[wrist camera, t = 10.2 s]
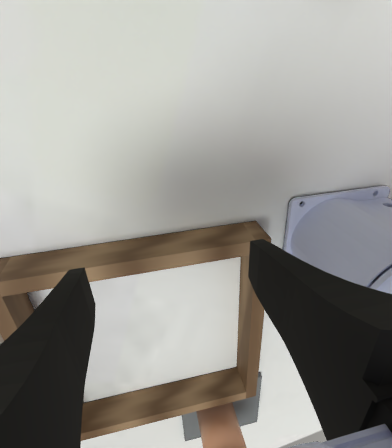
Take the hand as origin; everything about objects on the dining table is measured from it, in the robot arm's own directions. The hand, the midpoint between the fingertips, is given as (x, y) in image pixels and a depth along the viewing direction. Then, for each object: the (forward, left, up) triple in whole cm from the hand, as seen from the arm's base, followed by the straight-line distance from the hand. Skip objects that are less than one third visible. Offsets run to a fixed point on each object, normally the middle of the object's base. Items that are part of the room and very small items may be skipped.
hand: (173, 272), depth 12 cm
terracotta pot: (-4, +29, -9) cm, 31 cm away
